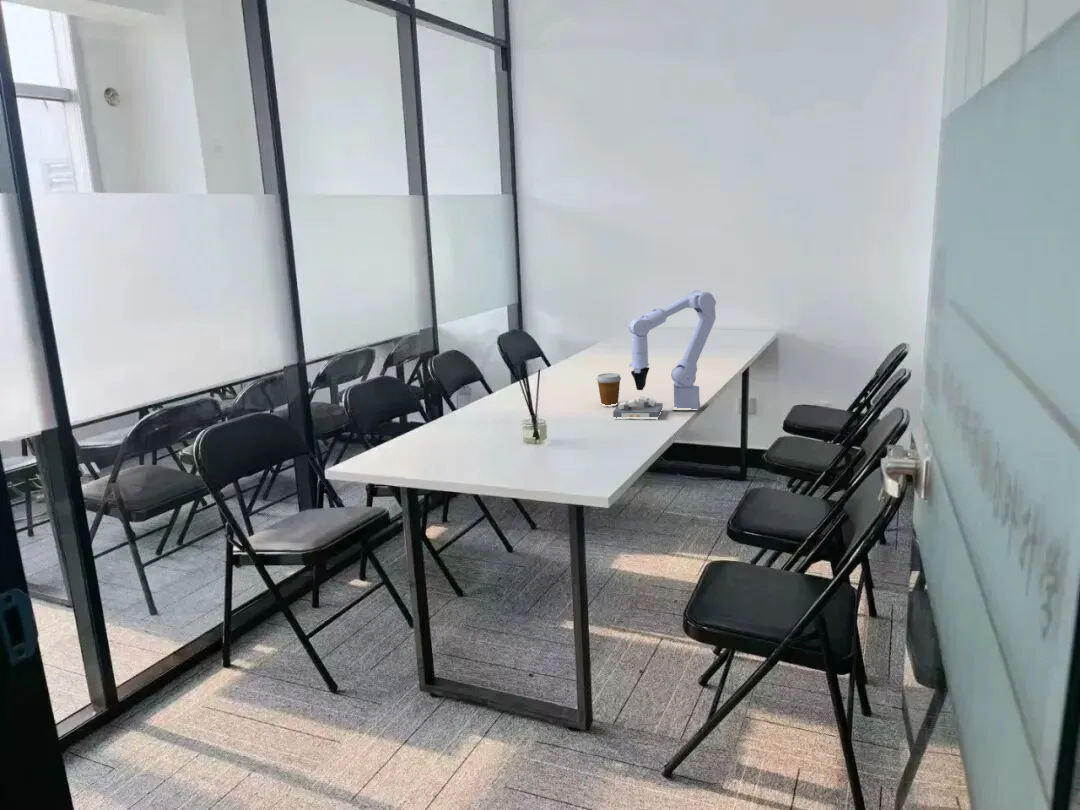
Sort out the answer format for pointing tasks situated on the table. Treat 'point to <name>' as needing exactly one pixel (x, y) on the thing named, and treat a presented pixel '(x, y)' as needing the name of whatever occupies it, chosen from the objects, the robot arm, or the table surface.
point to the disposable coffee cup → (609, 387)
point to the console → (639, 410)
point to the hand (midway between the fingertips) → (640, 388)
